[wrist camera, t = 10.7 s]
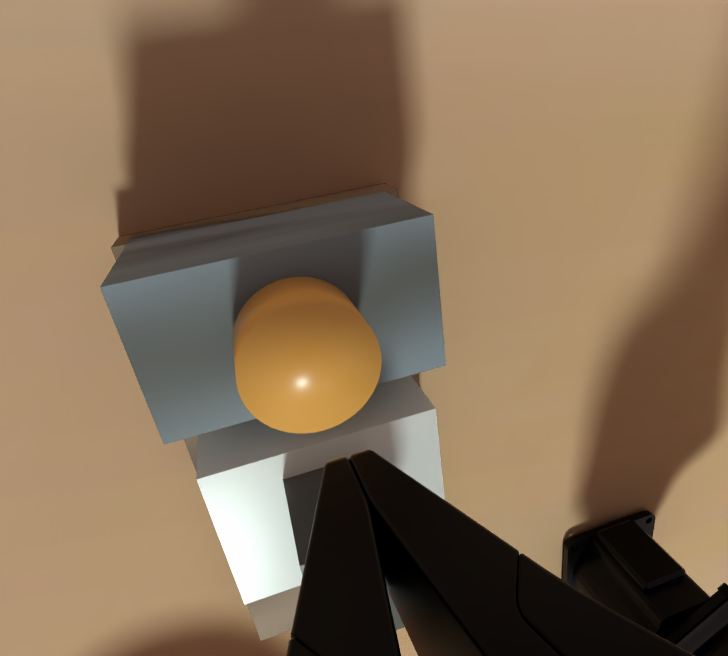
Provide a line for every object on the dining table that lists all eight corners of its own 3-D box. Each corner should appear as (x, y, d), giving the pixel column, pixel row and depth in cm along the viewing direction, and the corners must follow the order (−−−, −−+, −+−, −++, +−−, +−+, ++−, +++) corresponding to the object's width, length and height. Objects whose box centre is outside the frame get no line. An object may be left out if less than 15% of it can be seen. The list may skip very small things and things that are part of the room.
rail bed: (430, 553, 29) (480, 654, 23) (258, 614, 27) (270, 739, 21) (384, 183, 19) (449, 211, 14) (118, 237, 18) (79, 291, 12)
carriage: (410, 465, 23) (492, 613, 16) (238, 520, 22) (251, 707, 15) (394, 354, 21) (485, 475, 14) (199, 407, 19) (192, 572, 12)
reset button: (368, 375, 15) (389, 411, 13) (250, 408, 14) (256, 450, 13) (350, 263, 13) (371, 286, 12) (216, 294, 13) (217, 323, 11)
